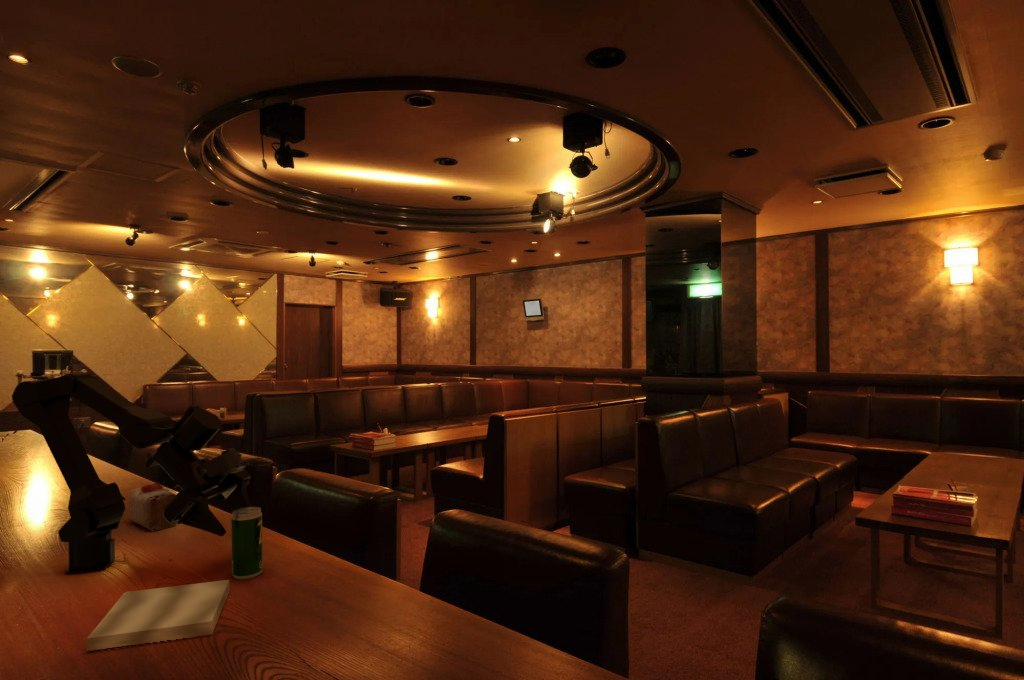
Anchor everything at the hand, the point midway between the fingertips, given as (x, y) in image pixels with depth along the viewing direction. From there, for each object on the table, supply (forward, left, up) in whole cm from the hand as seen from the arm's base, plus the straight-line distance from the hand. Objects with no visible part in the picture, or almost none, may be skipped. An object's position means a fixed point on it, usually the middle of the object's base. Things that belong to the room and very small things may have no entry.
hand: (239, 526), depth 111 cm
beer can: (+1, -1, -9) cm, 9 cm away
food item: (-25, +40, -9) cm, 48 cm away
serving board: (-9, -16, -9) cm, 20 cm away
